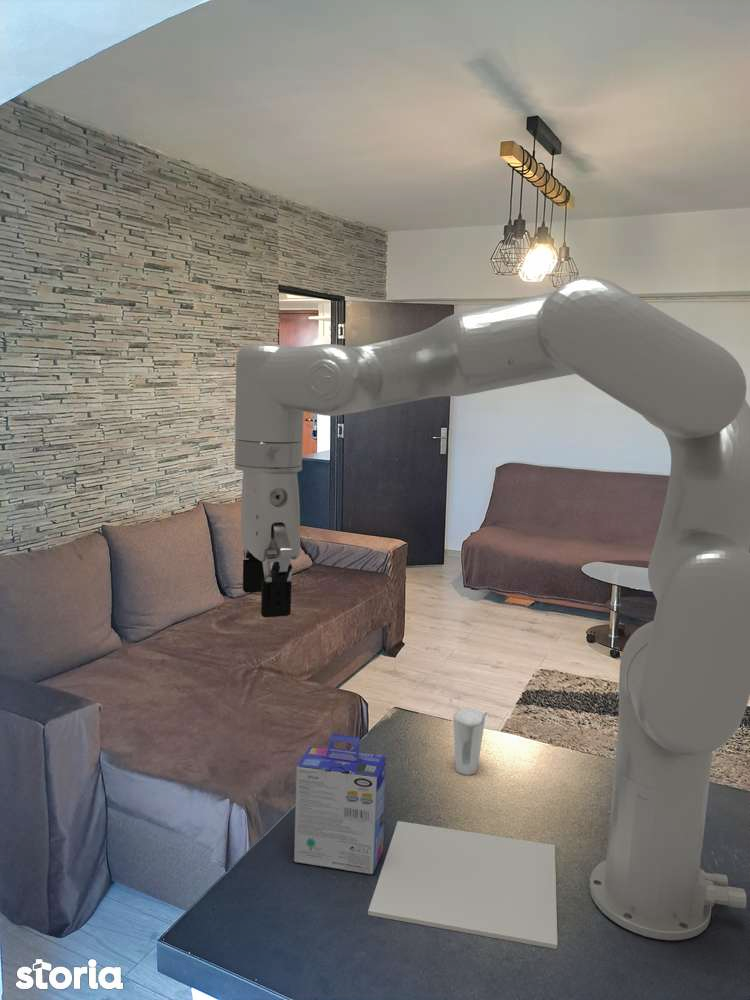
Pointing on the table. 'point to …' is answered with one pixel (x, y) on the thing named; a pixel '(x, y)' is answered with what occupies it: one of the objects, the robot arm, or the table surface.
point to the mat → (469, 884)
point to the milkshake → (468, 739)
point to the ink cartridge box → (340, 807)
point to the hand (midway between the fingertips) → (265, 602)
